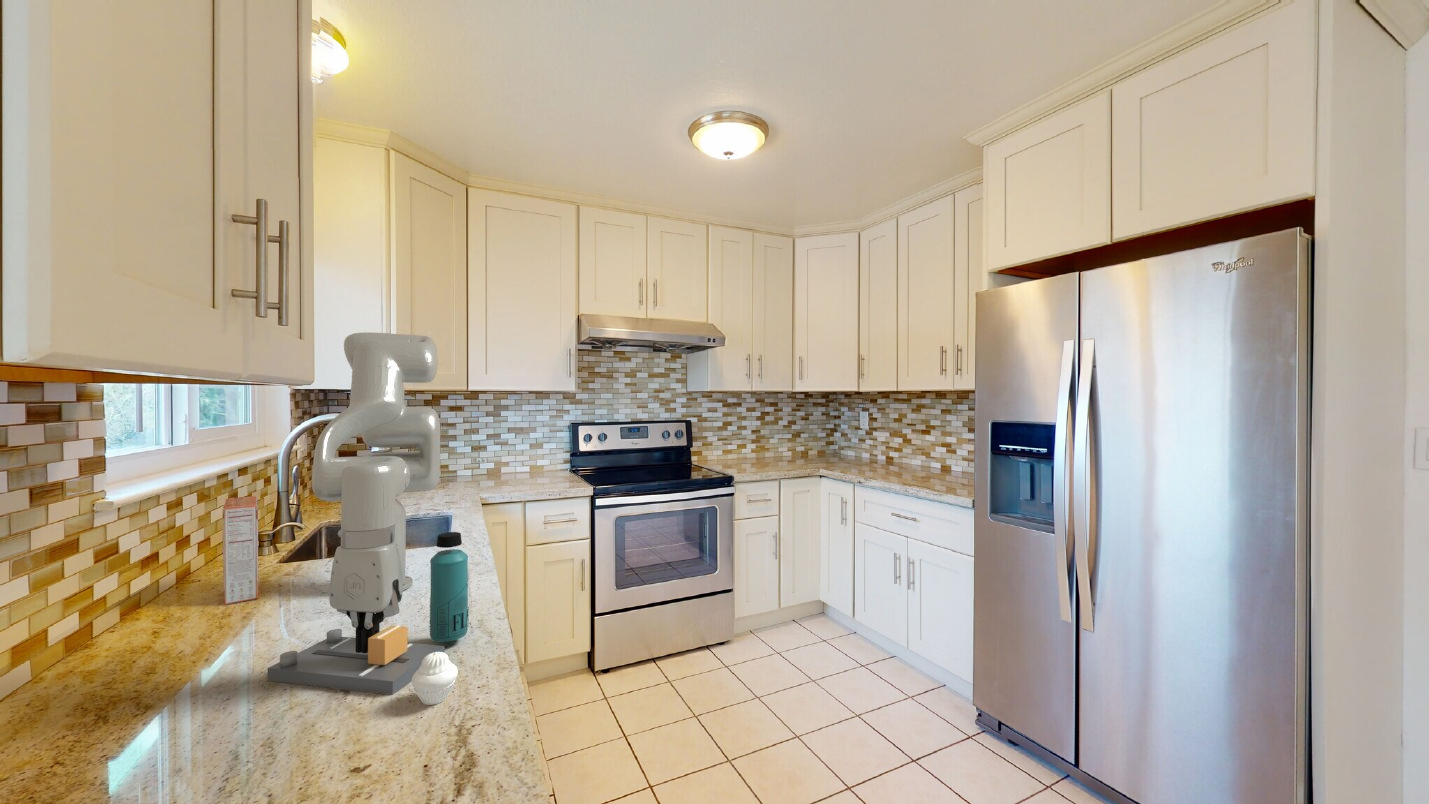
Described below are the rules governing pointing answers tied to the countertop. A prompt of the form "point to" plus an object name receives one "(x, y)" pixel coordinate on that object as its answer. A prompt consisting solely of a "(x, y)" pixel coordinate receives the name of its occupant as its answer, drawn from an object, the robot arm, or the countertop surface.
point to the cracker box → (240, 549)
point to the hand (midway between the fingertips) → (367, 649)
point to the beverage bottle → (449, 590)
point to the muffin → (434, 678)
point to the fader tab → (387, 645)
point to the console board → (348, 666)
